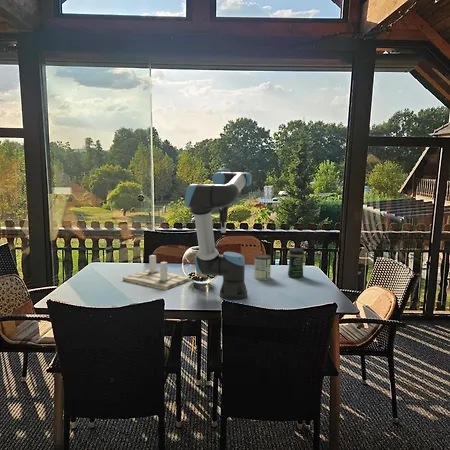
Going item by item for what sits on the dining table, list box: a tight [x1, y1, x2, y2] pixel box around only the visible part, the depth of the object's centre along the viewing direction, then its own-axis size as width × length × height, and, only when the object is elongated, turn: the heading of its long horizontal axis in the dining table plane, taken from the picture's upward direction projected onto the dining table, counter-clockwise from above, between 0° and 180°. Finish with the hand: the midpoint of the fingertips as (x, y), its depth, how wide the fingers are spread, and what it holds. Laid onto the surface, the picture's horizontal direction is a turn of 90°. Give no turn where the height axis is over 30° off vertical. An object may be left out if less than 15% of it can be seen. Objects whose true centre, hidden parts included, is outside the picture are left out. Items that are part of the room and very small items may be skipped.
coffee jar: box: [287, 247, 305, 279], centre depth 257 cm, size 10×8×19 cm
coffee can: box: [253, 253, 272, 281], centre depth 253 cm, size 10×10×14 cm
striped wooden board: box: [122, 269, 190, 291], centre depth 246 cm, size 24×34×2 cm
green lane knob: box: [159, 261, 169, 282], centre depth 236 cm, size 5×4×11 cm
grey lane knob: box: [148, 254, 159, 274], centre depth 254 cm, size 5×4×11 cm
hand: (223, 232), depth 247 cm, fingers closed
